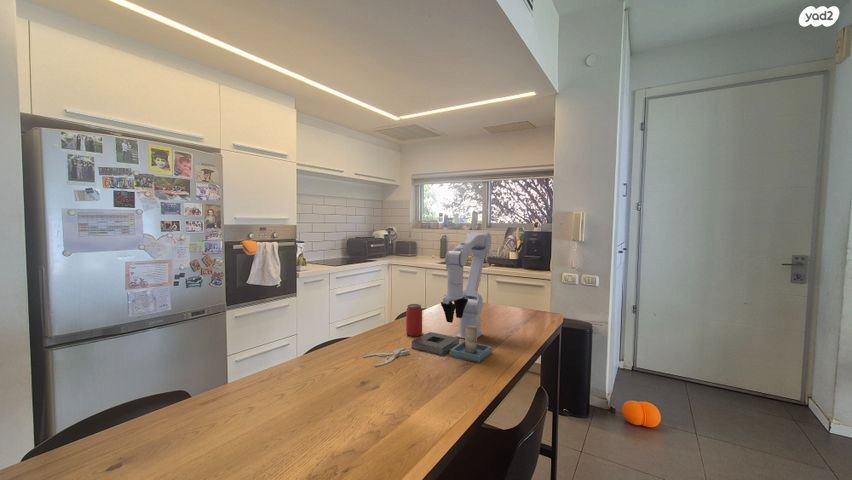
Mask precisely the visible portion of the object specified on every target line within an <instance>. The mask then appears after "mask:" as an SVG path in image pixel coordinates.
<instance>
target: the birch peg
mask: <svg viewBox="0 0 852 480" xmlns="http://www.w3.org/2000/svg"><path fill="white" fill-rule="evenodd" d="M464 341H465V352H466V353H470V354H476V353H477V344H478V337H477V327H476V326H466V333H465V340H464Z"/></svg>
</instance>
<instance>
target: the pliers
mask: <svg viewBox="0 0 852 480" xmlns="http://www.w3.org/2000/svg"><path fill="white" fill-rule="evenodd" d="M407 355H410V349H406V347H402V348H401V347H400V348H397V349H394V350H393V352H376V353H370V354H365V355H363V356H362V358H363V359H364V358H368V357H369V358H370V357H381V358H385V359H384V360H385V361H383V362H380V363H376V364H374V367H375V368H376V367H381V366H384V365H388V364H390V363H391V362H393V361H395V359H396V358H397V357H401V356H407ZM389 356H391V357H389Z"/></svg>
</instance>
